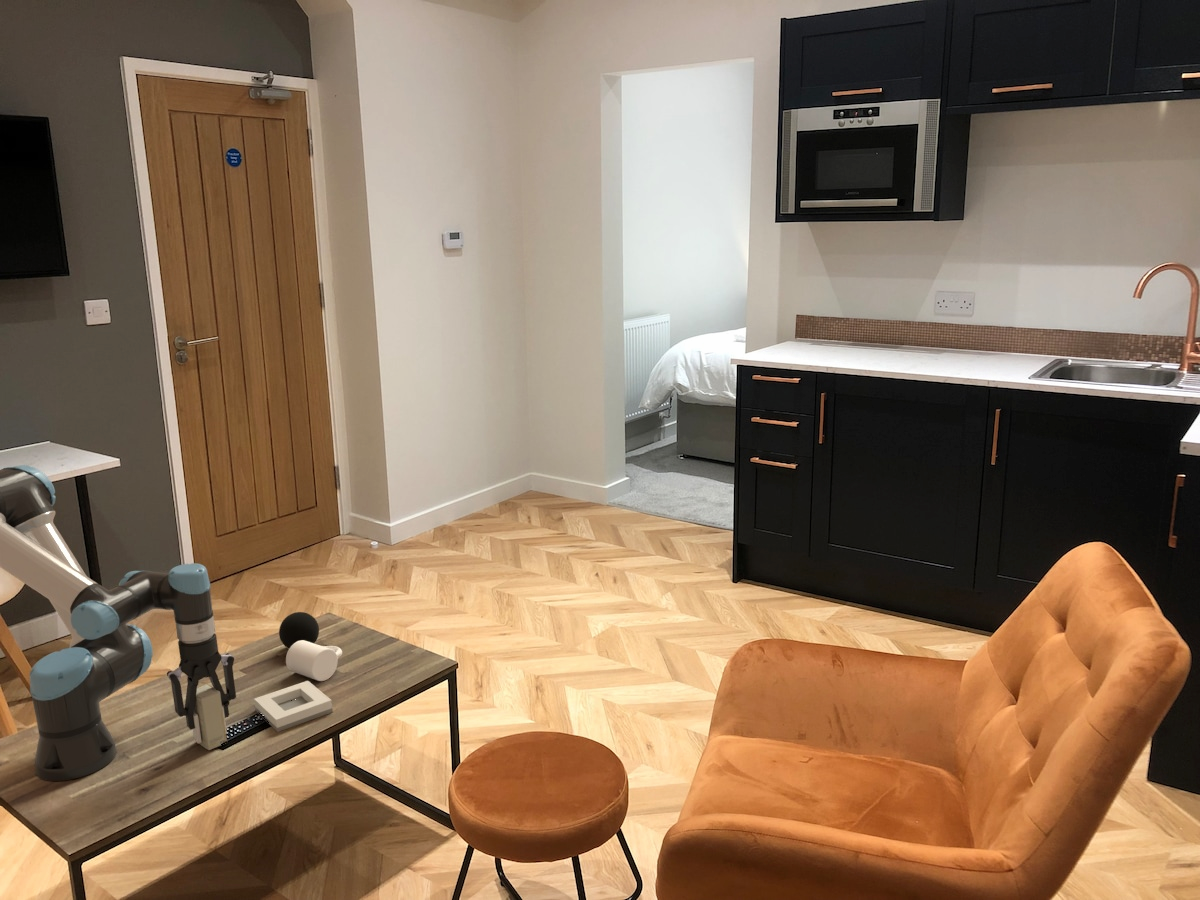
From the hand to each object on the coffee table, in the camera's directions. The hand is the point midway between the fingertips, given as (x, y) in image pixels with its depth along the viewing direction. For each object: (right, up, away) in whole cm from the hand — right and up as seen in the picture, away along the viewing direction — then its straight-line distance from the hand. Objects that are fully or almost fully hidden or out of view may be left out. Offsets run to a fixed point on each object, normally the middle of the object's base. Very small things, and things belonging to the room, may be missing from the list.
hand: (210, 735), depth 211 cm
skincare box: (0, -2, 0) cm, 2 cm away
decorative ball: (+6, +9, +45) cm, 47 cm away
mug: (+14, +6, +32) cm, 36 cm away
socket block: (+14, +2, +13) cm, 19 cm away
